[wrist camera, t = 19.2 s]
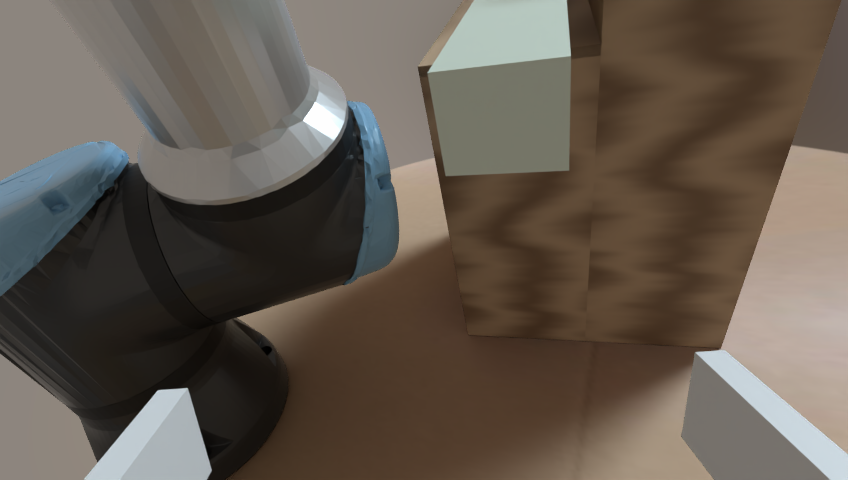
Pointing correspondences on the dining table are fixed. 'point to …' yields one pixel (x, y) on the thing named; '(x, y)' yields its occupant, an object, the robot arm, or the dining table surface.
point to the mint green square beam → (505, 89)
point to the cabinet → (640, 174)
